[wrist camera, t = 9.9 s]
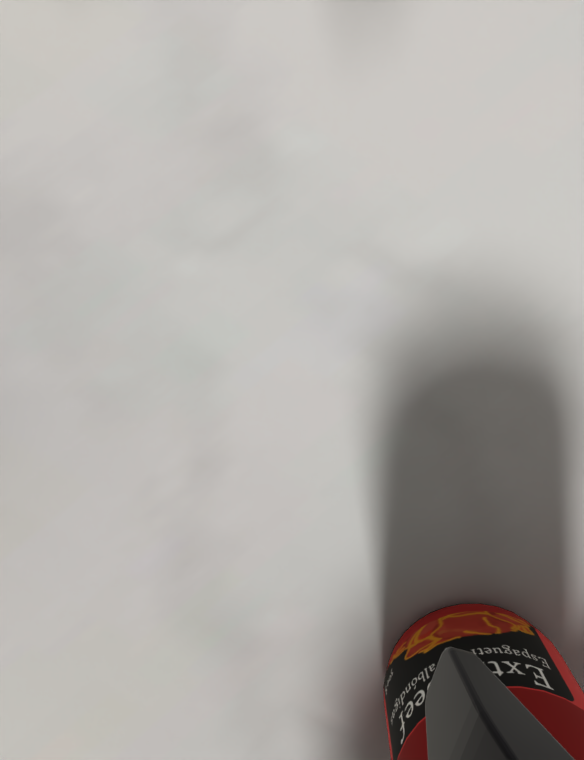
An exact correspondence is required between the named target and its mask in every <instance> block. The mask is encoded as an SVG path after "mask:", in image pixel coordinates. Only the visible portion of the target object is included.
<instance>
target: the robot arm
mask: <svg viewBox="0 0 584 760" xmlns="http://www.w3.org/2000/svg"><path fill="white" fill-rule="evenodd" d="M425 714H426V732H427V749H428V760H575V759H574V758H573V757H572V756H571V755H570V754H569V753H568V752H567V751H566V750H565V749H564V748H563V746H562V745H561V744H560V743H559V742H558V741H557V740H556V739H555V738H554V737H553V736H552V735H551V734H550V733H549V732H548V731H547V730H546V728H545V727H544V726H543V725H542V724H541V723H540V722H539V721H538V720H537V719H536V718H535V717H534V716H533V715H532V714H531V713H530V711H529V710H528V709H527V708H526V707H525V706H524V705H523V704H522V703H521V702H520V701H519V700H518V699H517V698H516V697H515V696H514V695H513V693H512V692H511V691H510V690H509V689H508V688H507V687H506V686H505V685H504V684H503V683H502V682H501V681H500V680H499V679H498V678H497V677H496V675H495V674H494V673H493V672H492V671H491V670H490V669H489V668H488V667H487V666H486V665H485V664H484V663H483V662H482V661H481V660H480V658H479V657H478V656H477V655H475V654H474V653H472V652H468V651H465V650H461V649H457V648H454V647H448V648H445V650H444V651H443V652H442V654H441V657H440V659H439V662H438V664H437V667H436V670H435V672H434V675H433V677H432V680H431V683H430V685H429V688H428V691H427V695H426V701H425Z"/></svg>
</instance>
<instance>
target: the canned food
mask: <svg viewBox="0 0 584 760" xmlns="http://www.w3.org/2000/svg"><path fill="white" fill-rule="evenodd" d="M448 647H454V648H457V649H461V650H465V651H468V652H472V653H474V654H475V655H477V656H478V657H479V658H480V660H481V661H482V662H483V663H484V664H485V665H486V666H487V667H488V668H489V669H490V670H491V671H492V672H493V673H494V674H495V675H496V677H497V678H498V679H499V680H500V681H501V682H502V683H503V684H504V685H505V686H506V687H507V688H508V689H509V690H510V691H511V692H512V693H513V695H514V696H515V697H516V698H517V699H518V700H519V701H520V702H521V703H522V704H523V705H524V706H525V707H526V708H527V709H528V710H529V711H530V713H531V714H532V715H533V716H534V717H535V718H536V719H537V720H538V721H539V722H540V723H541V724H542V725H543V726H544V727H545V728H546V730H547V731H548V732H549V733H550V734H551V735H552V736H553V737H554V738H555V739H556V740H557V741H558V742H559V743H560V744H561V745H562V746H563V748H564V749H565V750H566V751H567V752H568V753H569V754H570V755H571V756H572V757H573V758H574V759H575V760H584V693H583V691H582V690H581V688H580V686H579V685H578V683H577V681H576V680H575V678H574V676H573V675H572V673H571V671H570V670H569V668H568V666H567V665H566V663H565V661H564V660H563V658H562V656H561V655H560V653H559V652H558V651H557V649H556V648H555V646H554V645H553V644H552V642H551V641H550V640H549V639H547V638H546V637H545V636H544V635H543V634H542V633H541V632H540V631H539V630H537V629H536V628H535V627H534V626H533V625H531V624H530V623H529V622H528V621H526V620H525V619H523V618H521V617H520V616H518V615H516V614H515V613H513V612H510V611H508V610H505V609H502V608H499V607H496V606H490V605H484V604H460V605H454V606H449V607H445V608H442V609H440V610H437V611H434V612H432V613H430V614H428V615H426V616H425V617H423V618H422V619H420V620H418V621H417V622H415V623H414V624H413V625H412V626H411V627H410V628H409V629H408V630H407V631H406V632H405V633H404V634H403V635H402V637H401V638H400V640H399V641H398V642H397V644H396V645H395V647H394V650H393V652H392V654H391V657H390V659H389V663H388V667H387V671H386V677H385V682H384V687H383V688H384V706H385V714H386V723H387V731H388V739H389V747H390V755H391V760H428V749H427V732H426V714H425V701H426V695H427V691H428V688H429V685H430V683H431V680H432V677H433V675H434V672H435V670H436V667H437V664H438V662H439V659H440V657H441V654H442V652H443V651H444V650H445V648H448Z"/></svg>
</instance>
